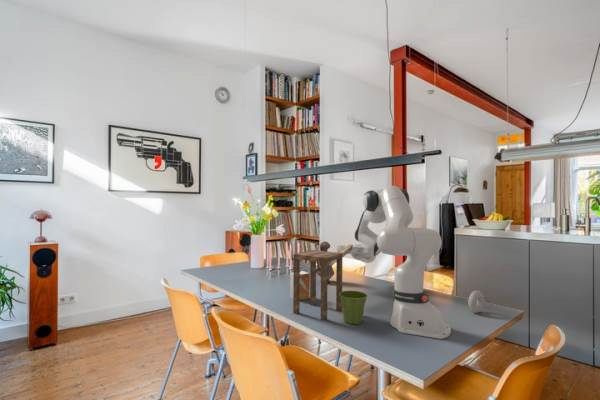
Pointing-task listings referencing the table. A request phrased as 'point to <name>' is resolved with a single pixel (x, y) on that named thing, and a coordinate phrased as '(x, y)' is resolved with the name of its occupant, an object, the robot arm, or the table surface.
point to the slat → (343, 250)
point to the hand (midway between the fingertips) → (348, 247)
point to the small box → (301, 285)
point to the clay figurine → (324, 247)
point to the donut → (476, 301)
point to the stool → (313, 258)
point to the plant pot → (353, 306)
